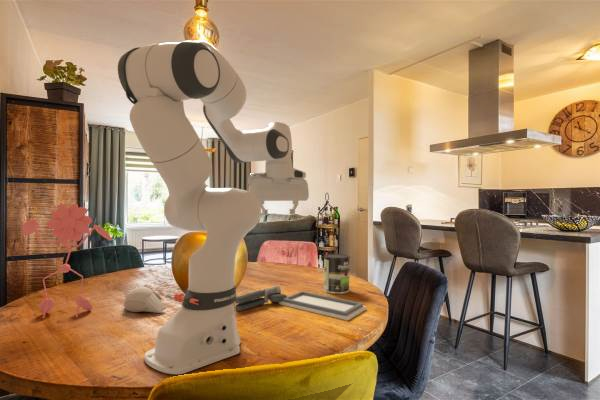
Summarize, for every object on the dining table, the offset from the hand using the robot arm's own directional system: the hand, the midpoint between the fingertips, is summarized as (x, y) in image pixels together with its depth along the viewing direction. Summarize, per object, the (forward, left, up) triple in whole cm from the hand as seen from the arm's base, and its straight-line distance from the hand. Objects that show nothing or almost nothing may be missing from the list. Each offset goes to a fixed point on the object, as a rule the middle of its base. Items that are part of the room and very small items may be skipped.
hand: (278, 214), depth 111 cm
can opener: (-1, +7, -31) cm, 32 cm away
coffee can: (+32, -4, -32) cm, 45 cm away
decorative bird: (-25, +29, -34) cm, 51 cm away
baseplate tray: (+11, -10, -32) cm, 35 cm away
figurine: (-42, +52, -32) cm, 74 cm away
